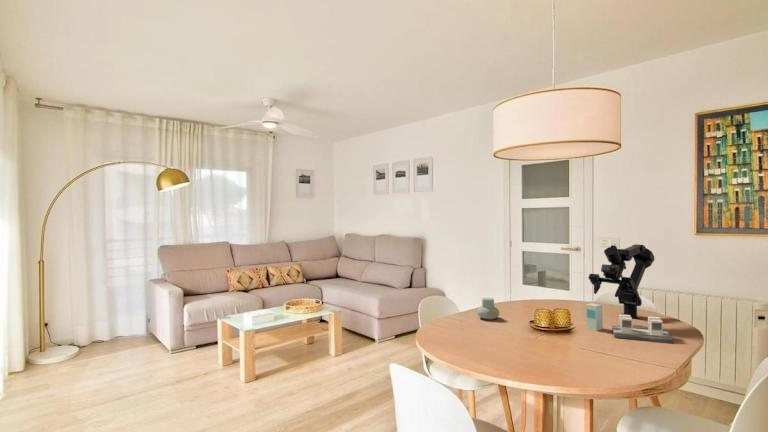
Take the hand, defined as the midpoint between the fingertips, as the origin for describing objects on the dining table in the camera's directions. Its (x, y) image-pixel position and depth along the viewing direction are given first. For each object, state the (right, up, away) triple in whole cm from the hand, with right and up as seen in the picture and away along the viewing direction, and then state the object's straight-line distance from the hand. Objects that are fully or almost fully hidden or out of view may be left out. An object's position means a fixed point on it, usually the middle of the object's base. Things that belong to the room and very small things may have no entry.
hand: (604, 295), depth 183 cm
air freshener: (-49, -16, +19) cm, 55 cm away
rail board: (+6, -14, -15) cm, 22 cm away
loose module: (-7, -14, -4) cm, 16 cm away
